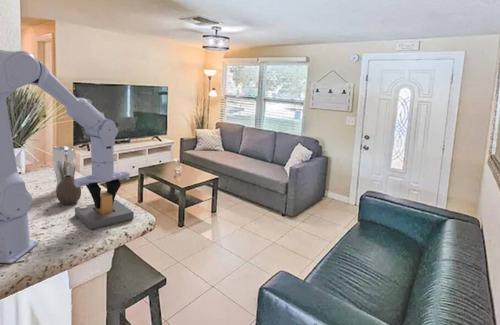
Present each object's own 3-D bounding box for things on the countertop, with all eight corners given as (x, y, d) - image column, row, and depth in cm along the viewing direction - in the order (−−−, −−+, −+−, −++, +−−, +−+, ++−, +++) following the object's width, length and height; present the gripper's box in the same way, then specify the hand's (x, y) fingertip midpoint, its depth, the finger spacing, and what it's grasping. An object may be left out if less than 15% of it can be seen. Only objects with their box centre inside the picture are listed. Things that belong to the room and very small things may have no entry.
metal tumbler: (70, 193, 111) (68, 150, 108) (50, 192, 111) (47, 148, 108) (81, 187, 118) (79, 146, 114) (62, 185, 118) (59, 145, 114)
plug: (112, 214, 95) (112, 195, 93) (102, 217, 92) (101, 197, 91) (106, 209, 98) (105, 190, 96) (96, 212, 95) (95, 192, 94)
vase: (53, 206, 100) (52, 179, 98) (60, 198, 106) (58, 173, 104) (78, 206, 102) (77, 179, 100) (83, 198, 108) (82, 173, 106)
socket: (133, 219, 95) (133, 210, 95) (90, 230, 87) (90, 220, 86) (116, 206, 104) (115, 198, 103) (75, 215, 95) (74, 206, 95)
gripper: (121, 155, 99) (122, 197, 102) (69, 160, 89) (72, 207, 92) (132, 160, 94) (132, 204, 98) (78, 166, 84) (81, 215, 87)
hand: (104, 206), depth 95 cm, fingers closed on plug, 3 cm apart
